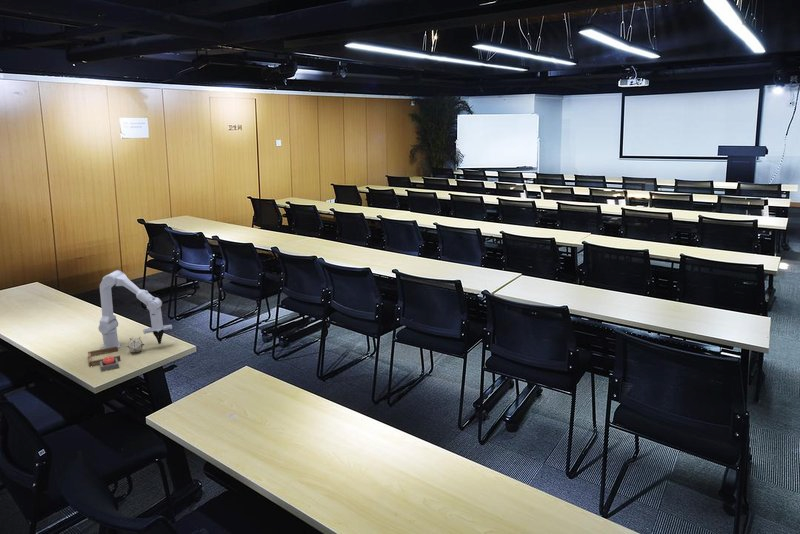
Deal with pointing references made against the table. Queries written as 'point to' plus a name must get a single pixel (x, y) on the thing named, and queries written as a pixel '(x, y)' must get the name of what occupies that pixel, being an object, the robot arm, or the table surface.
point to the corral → (101, 351)
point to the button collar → (109, 367)
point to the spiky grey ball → (135, 345)
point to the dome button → (108, 360)
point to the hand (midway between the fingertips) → (159, 343)
